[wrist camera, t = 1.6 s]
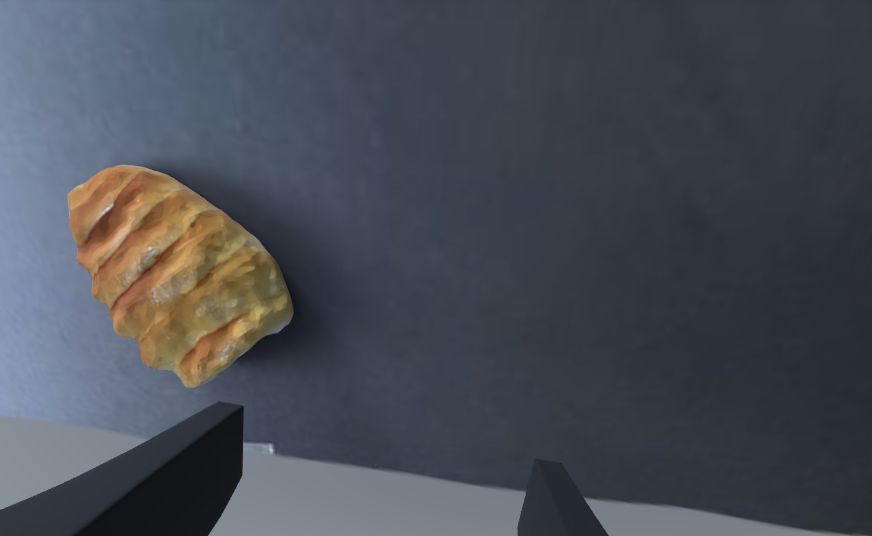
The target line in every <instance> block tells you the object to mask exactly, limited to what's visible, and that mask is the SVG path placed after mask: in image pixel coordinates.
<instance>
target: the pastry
mask: <svg viewBox="0 0 872 536" xmlns="http://www.w3.org/2000/svg"><path fill="white" fill-rule="evenodd" d="M67 197H68V206H69V213H70V214H69V225H70V230H71V233H72V235H73V238H74V240H75V243H76V245H77V248H78V250H77V254H76V257H77V262H78V263H79V264H80V265H82V266H83V267H84V268H85V269H86V270H87V271H88V272H89V274H90V275H91V277H92V280H93V285H92V295H93V296H94V298H95V299H97V300H98V301H100V302H102V303H103V304H105V305H106V306H107V307H108V308H109V311H110V317H111V320H112V321H113V325H114V330H115V332H116V333H117V334H119V335H120V336H122V337H126V338H132V339H135V340H136V341H137V342H138V345H139V354H140V357H141V359H142V361H143V362H144V363H145V364H146V365H147V366H148V367H150V368H155V369H161V370H172V371H174V372H175V373H176V374H177V375H178V376H179V378H181V379H182V381H183V384H184V385H185V387H188V388H195V387H198V386H201V385H204V384H206V383H207V382H209V381H211V380H212V379H214V378H216V377H217V376H219V375H220V374H221V372H222V371H223V370H225V369H227V368H228V367H229V366H230V365H231V364H233V362H234V361H235V360H236V359H237V358H238V357H240V356H242V355H243V354H244V353H245V352H247V351H248V350H249V349H250V348H251V347H252V346H253V345H254V344H255V343H256V342H257V341H258V340H260V339H261V338H263V337H264V336H265V335H271V334H274V333H278V332H280V330H281V329H282V328H284V327H285V326H286V325H288V324H289V323H290V321H291V319H292V316H293V314H294V312H293V305H292V301H291V297H290V293H289V291H288V288H287V286H286V283H285V281H284V278H283V275H282V272H281V269H280V267H279V265H278V263H277V261H276V260H275V259H274V258H273V257H272V256H271V255H270V254H269V253H268V252H267V250H266V249H265V248H264V247H263V245H262V244H261V242H260V241H259V240H258V239H257V238H256V237H254V236H253V235H252V234H250V233H249V232H247V231H246V230H245V229H244V228H243V227H242V226H241V225H240V224H238V223H237V222H235V221H234V220H232V219H231V218H230V217H229V216H228V215H227V214H226V213H224V212H223V211H221V210H220V209H218V208H216V207H215V206H213V205H212V204H211V203H209V202H208V201H206V199H205V198H202V197H201V196H200V195H198V194H197V193H196V192H194V191H193V190H191V189H190V188H188V187H186V186H185V185H183V184H181V183H180V182H178V181H177V180H175V179H174V178H172V177H170V176H169V175H166V174H163V173H160V172H157V171H154V170H151V169H148V168H145V167H139V166H132V165H117V166H115V167H112V168H107V169H103V170H102V171H100V172H99V173H98V174H96V175H95V176H93V177H92V178H91V179H89V180H88V181H87V182H86V183H84V184H82V185H79V186H77V187H76V188H74V189H73V190H72V191H71V192H70V193H69V194H68V195H67Z"/></svg>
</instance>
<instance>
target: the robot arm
mask: <svg viewBox="0 0 872 536" xmlns="http://www.w3.org/2000/svg"><path fill="white" fill-rule="evenodd" d="M243 410H244V406H241V405H235V404H230V403H224V402H217V403H215V404H213V405H211V406H209V407H207V408H206V409H204V410H202V411H200V412H198V413H196V414H195V415H193V416H191V417H189V418H187V419H186V420H184V421H182V422H180V423H179V424H177V425H175V426H173V427H171V428H170V429H168V430H166V431H164V432H162V433H160V434H159V435H157V436H155V437H153V438H151V439H149V440H148V441H146V442H144V443H142V444H141V445H138V446H137V447H135V448H133V449H131V450H129V451H127V452H125V453H123V454H121V455H119V456H117V457H115V458H113V459H111V460H109V461H107V462H105V463H103V464H101V465H99V466H97V467H95V468H93V469H91V470H89V471H88V472H85V473H83V474H81V475H80V476H77V477H75V478H73V479H71V480H69V481H67V482H64V483H62V484H60V485H58V486H56V487H53V488H51V489H49V490H47V491H44V492H42V493H40V494H37V495H35V496H33V497H30V498H28V499H26V500H23V501H21V502H19V503H16V504H14V505H12V506H9V507H6V508H4V509H1V510H0V536H208V535H209V533H210V532H211V530H212V529H213V527H214V526H215V524H216V523H217V521H218V519H219V518H220V517H221V515H222V513H223V511H224V509H225V507H226V506H227V504H228V502H229V500H230V498H231V496H232V494H233V493H234V491H235V489H236V487H237V484H238V483H239V481H240V479H241V477H242V467H243ZM518 536H608V534H607V533H606V531H605V530H604V528H603V527H602V525H601V524H600V522H599V521H598V519H597V518H596V517H595V515H594V514H593V512H592V510H591V509H590V507H589V506H588V504H587V503H586V501H585V500H584V498H583V496H582V495H581V493H580V492H579V490H578V489H577V487H576V485H575V484H574V482H573V481H572V479H571V478H570V476H569V474H568V473H567V471H566V470H565V468H564V467H563V465H562V464H561V463H557V462H551V461H545V460H540V459H535V460H534V464H533V468H532V472H531V476H530V480H529V484H528V488H527V492H526V496H525V500H524V504H523V508H522V511H521V515H520V519H519V523H518Z"/></svg>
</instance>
